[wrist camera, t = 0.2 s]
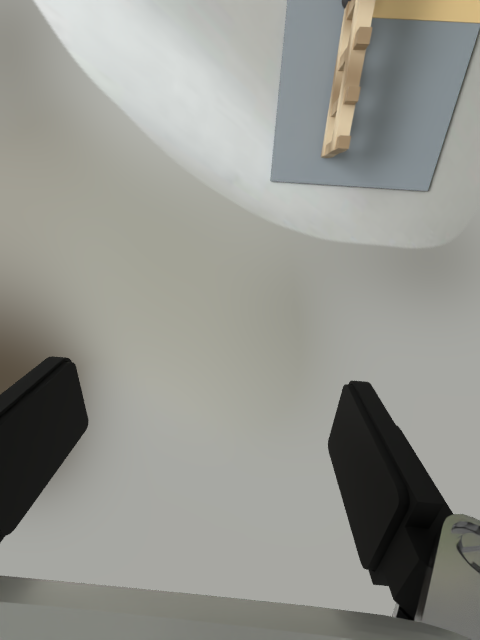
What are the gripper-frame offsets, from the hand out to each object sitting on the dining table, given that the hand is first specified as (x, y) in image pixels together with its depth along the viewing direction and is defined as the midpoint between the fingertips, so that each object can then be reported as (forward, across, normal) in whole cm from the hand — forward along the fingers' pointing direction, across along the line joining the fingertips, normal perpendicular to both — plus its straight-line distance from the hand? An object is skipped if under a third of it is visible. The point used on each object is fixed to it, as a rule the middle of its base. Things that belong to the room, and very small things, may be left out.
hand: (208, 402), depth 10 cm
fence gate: (+29, -9, -17) cm, 35 cm away
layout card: (+30, -12, -21) cm, 39 cm away
